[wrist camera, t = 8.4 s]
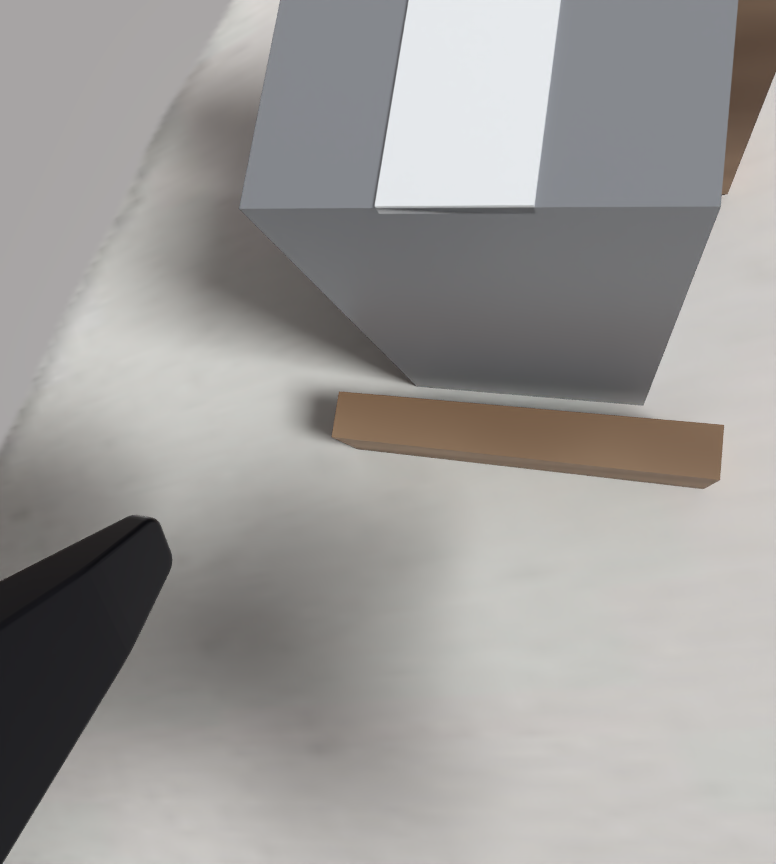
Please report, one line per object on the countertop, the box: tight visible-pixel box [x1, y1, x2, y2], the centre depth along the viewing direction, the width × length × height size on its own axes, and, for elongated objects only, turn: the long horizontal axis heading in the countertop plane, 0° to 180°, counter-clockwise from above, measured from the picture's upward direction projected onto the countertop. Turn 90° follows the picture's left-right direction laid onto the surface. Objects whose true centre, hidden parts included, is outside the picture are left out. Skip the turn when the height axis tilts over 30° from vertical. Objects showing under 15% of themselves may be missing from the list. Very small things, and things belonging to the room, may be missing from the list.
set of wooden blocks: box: [332, 0, 776, 489], centre depth 13 cm, size 10×9×10 cm
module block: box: [239, 0, 738, 405], centre depth 13 cm, size 5×6×10 cm
